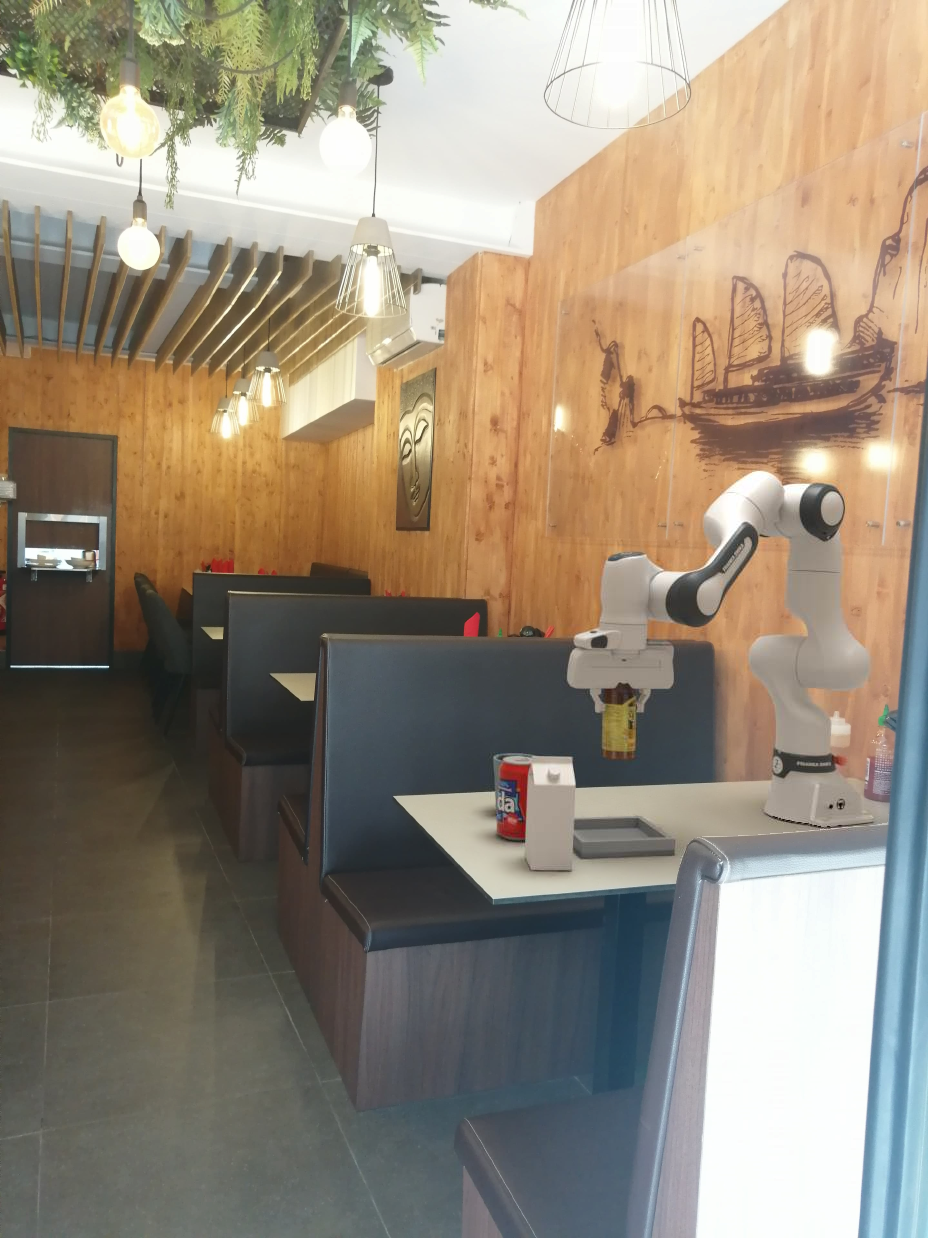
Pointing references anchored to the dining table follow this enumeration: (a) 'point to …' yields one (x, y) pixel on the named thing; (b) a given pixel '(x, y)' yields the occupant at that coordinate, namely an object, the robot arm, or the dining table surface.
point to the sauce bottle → (619, 722)
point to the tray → (620, 838)
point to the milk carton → (550, 813)
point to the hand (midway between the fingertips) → (619, 712)
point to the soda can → (513, 797)
